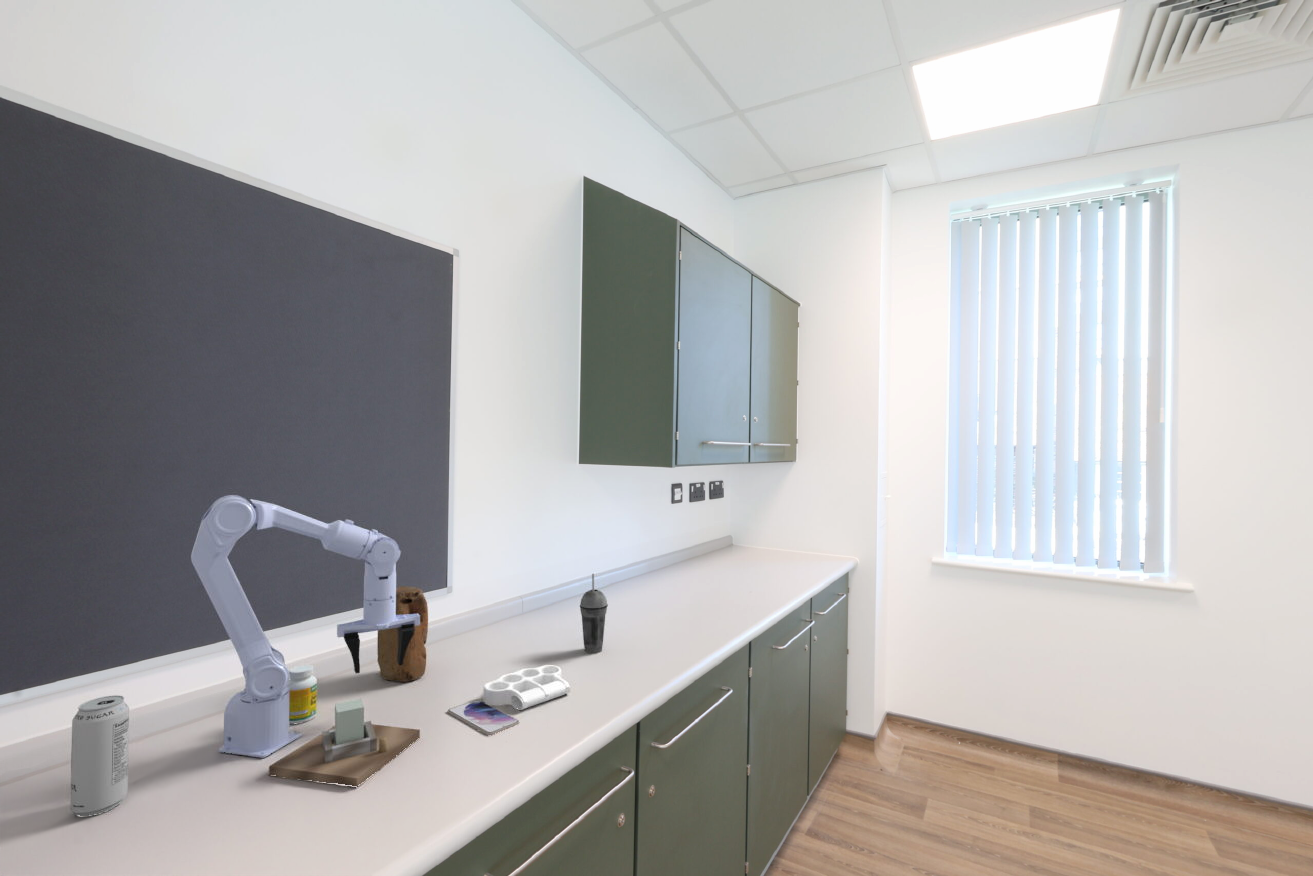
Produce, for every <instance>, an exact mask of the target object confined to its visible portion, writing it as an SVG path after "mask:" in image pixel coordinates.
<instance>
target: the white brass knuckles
mask: <svg viewBox="0 0 1313 876" xmlns="http://www.w3.org/2000/svg"><path fill="white" fill-rule="evenodd" d="M570 693H571V686H570V684H569V682H568V681H566V680H565V679H563V677H562V669H561V667H560V666H558V665H554V664H544V665H541V666H538V667H533V668H531V667H530V668H529V667H527V668H522V669H519V670H517V671H515V672H511V673H505V674H503V675H501V676H499V678H497V679H495V680H492V681H488V682H486V683H485V684H484V686H483V703H484V702H485V703H486V704H488V705H489V706H492V705H499V706H504V705H503V704H509V705H508V706H512V707H513V708H514V707H515V708H514V709H515V710H517V708H518V711H523V710H526V709H527V708H530V707H533V706H536V705H539V704H542V703H546V702H547V701H550V700H553V699H555V698H559V697H562V696H565V694H566V695H568V694H570Z"/></svg>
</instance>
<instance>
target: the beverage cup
mask: <svg viewBox="0 0 1313 876" xmlns="http://www.w3.org/2000/svg"><path fill="white" fill-rule="evenodd" d="M591 582H592V583H591V587H592V588H591V589H590V590H587V591H586V592H584V593H583V595H582V596H581V599H580V604H579V608H580V609H579V610H580V615H581V623H582V624H581V625H582V639H583V648H584V652H585V653H587V654H598V653H599V654H600V653H601V652H603V646H604V645H603V644H604V636H605V626H606V625H605V624H606V615H607V610H608V605H609V604H608V600H607V597H606V595H605V594H604V593H603V592H602V591H601V590H599V589H595V573H592V574H591Z"/></svg>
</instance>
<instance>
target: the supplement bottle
mask: <svg viewBox="0 0 1313 876" xmlns="http://www.w3.org/2000/svg"><path fill="white" fill-rule="evenodd" d="M288 670H289V674H290V678H289V682H288V685H289V686H290V689H289V690H290V698H289V723H291V724H290V725H295V724H294V723H300V724H302V723H301V722H304V723H306V722H305V721H307V722H309V721H311V720H313V719H314V718H315V717H316V716H317V710H318V709H317V707H318V706H317V705H318V703H317V699H318V695H317V693H318V679H317V677H316V676H314V675H313V674H314V666H313V665H311V664H302V665H297V666H295V667H291V668H290V669H288ZM312 718H313V719H312ZM308 720H309V721H308Z"/></svg>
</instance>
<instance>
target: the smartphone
mask: <svg viewBox="0 0 1313 876" xmlns="http://www.w3.org/2000/svg"><path fill="white" fill-rule="evenodd" d="M449 713H450V714H449ZM447 714H449V715H451V714H452V715H453V716H452V715H451V716H452V717H454V716H456V717H455V718H456V719H458V720H459V719H460V720H459V721H461V720H462V721H461V722H462V723H465V724H466V723H467V724H466V725H468V726H470V727H471V728H473V727H474V729H475V730H477V731H478V730H479V731H478V732H480V733H481V734H484V735H485V734H486V735H485V736H487V735H491V736H493V734H494V735H496V734H498V732H499V733H501V732H503V730H504V731H506V730H508V729H511V728H513V727H515V725H516V726H518V725H520V720H518V719H517V718H515V717H512V716H511V715H508V713H507V714H506V713H505V712H503V711H501V710H499V709H497V708H495V707H493V706H492V705H487V704H485V703H484V701H481V700H479V699H476V700H472V701H469V702H466V703H463V704H460V705H456V706H454V707H452V708H449V709H447ZM510 727H511V728H510ZM505 729H506V730H505ZM500 731H501V732H500ZM495 733H496V734H495Z"/></svg>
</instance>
